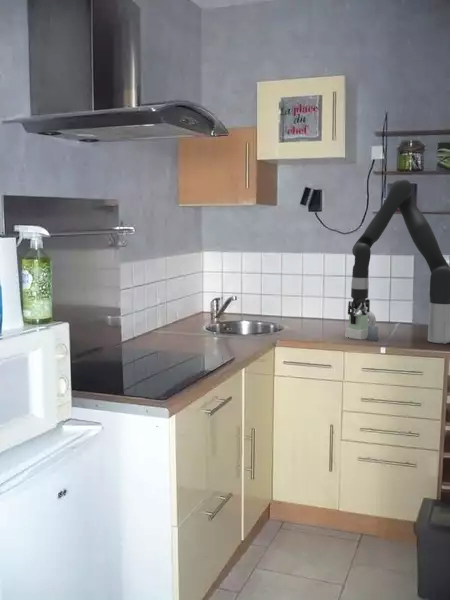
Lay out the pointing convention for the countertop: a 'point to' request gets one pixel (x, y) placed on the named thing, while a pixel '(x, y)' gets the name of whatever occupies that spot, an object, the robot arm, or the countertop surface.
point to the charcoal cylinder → (372, 333)
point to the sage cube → (359, 322)
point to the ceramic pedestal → (356, 333)
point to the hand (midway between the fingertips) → (358, 323)
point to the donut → (371, 318)
